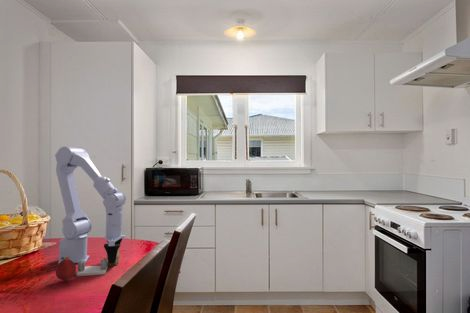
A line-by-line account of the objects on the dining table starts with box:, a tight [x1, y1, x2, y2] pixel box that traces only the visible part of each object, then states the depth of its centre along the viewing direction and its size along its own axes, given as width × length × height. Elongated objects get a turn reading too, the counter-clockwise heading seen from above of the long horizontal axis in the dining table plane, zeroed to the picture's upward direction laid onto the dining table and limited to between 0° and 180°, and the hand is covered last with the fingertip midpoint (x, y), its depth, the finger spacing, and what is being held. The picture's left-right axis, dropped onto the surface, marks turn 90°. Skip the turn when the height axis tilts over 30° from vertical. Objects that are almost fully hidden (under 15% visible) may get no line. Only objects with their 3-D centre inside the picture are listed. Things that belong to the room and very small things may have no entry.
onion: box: [55, 256, 77, 282], centre depth 102 cm, size 6×6×8 cm
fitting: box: [76, 257, 108, 277], centre depth 111 cm, size 9×7×4 cm
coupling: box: [106, 248, 121, 267], centre depth 120 cm, size 5×5×6 cm
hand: (113, 260), depth 120 cm, fingers open, 6 cm apart
